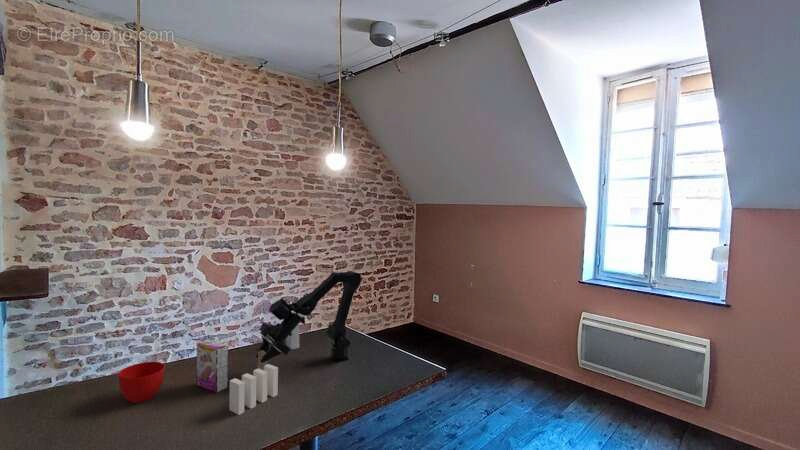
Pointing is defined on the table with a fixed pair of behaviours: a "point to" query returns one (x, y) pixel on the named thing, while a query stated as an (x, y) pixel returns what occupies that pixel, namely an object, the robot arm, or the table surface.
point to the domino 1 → (237, 396)
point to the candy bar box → (212, 365)
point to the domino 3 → (260, 356)
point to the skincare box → (293, 339)
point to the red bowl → (141, 381)
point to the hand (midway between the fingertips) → (258, 359)
